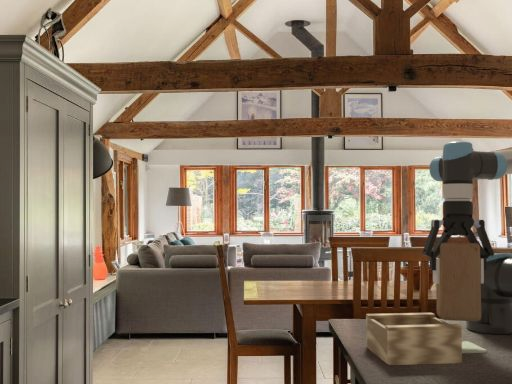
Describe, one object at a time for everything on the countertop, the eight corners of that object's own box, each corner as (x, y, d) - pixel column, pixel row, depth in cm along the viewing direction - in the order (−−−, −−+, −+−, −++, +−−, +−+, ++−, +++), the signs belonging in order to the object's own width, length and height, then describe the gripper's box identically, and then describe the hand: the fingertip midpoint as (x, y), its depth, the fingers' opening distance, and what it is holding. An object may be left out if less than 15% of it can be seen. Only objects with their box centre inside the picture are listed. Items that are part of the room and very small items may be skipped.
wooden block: (482, 322, 149) (480, 243, 150) (441, 320, 150) (440, 242, 152) (474, 317, 159) (473, 242, 160) (436, 315, 160) (435, 242, 162)
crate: (431, 345, 158) (431, 312, 158) (461, 362, 140) (461, 325, 140) (366, 347, 156) (366, 313, 156) (388, 365, 138) (388, 327, 138)
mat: (468, 343, 160) (468, 341, 160) (486, 352, 150) (486, 350, 150) (433, 344, 159) (433, 342, 159) (449, 353, 149) (449, 351, 149)
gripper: (493, 200, 160) (493, 280, 160) (409, 200, 158) (409, 281, 157) (507, 200, 153) (508, 284, 152) (420, 199, 150) (420, 285, 150)
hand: (458, 282), depth 155 cm, fingers open, 11 cm apart
